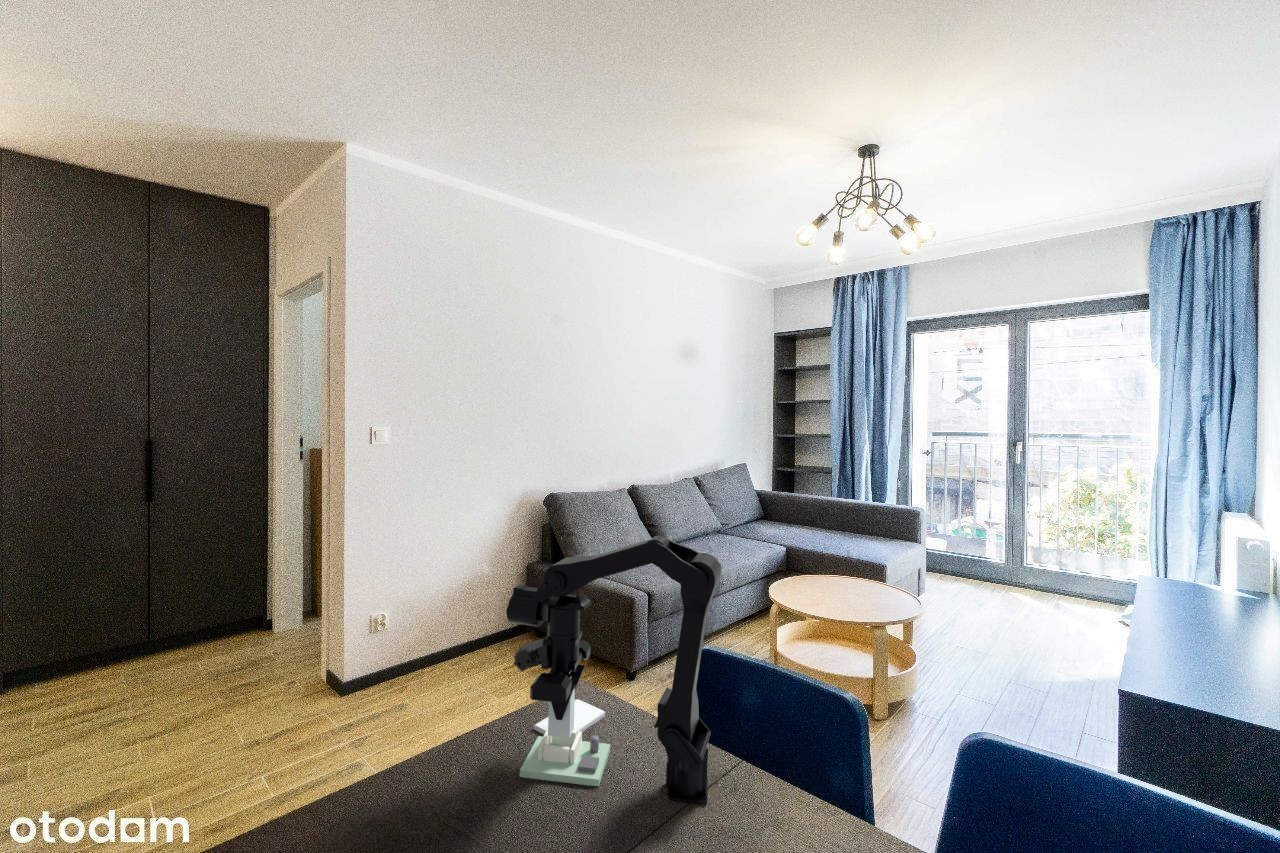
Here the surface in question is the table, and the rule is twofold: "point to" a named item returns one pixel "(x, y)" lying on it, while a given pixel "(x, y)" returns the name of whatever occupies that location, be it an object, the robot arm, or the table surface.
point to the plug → (566, 724)
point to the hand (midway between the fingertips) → (561, 714)
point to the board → (567, 759)
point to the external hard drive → (577, 717)
